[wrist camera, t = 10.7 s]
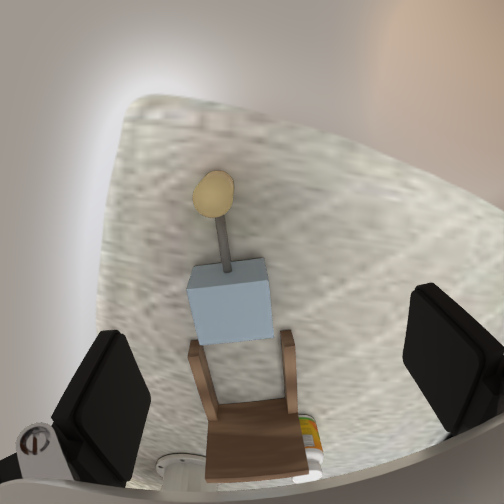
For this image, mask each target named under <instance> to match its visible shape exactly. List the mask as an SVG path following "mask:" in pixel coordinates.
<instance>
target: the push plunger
mask: <svg viewBox="0 0 504 504" xmlns="http://www.w3.org/2000/svg"><path fill="white" fill-rule="evenodd" d="M233 192H234V183H233V180H232V178H231V177H230V176H229V175H228V174H227V173H225V172H223V171H212V172H210V173H208V174H207V175H206V176H205V177H204V178H203V179H202V180H201V182H200V183H199V184H198V185H197V186H196V188H195V190H194V192H193V204H194V206H195V208H196V210H197V211H198V212H199V213H200V214H202V215H204V216H206V217H210V218H215V221H216V227H217V234H218V240H219V247H220V253H221V259H222V263H218V264H210V265H201V266H194V267H193V270H192V273H191V276H190V279H189V283H188V286H187V289H186V290H187V294H188V299H189V303H190V307H191V312H192V316H193V320H194V324H195V328H196V332H197V336H198V340H199V344H200V345H209V344H221V343H231V342H241V341H250V340H258V339H267V338H274V330H273V320H272V310H271V299H270V289H269V280H268V275H267V270H266V265H265V261H264V258H260V259H251V260H243V261H235V262H231V260H230V253H229V246H228V239H227V232H226V225H225V218H224V214H225V213H226V212H227V211H228V210H229V209H230V207H231V205H232V202H233Z"/></svg>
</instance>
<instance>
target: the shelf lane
mask: <svg viewBox="0 0 504 504" xmlns="http://www.w3.org/2000/svg"><path fill="white" fill-rule="evenodd" d="M280 332H281V345H282V357H283V371H284V384H285V398H280V399H273V400H264V401H255V402H245V403H234V404H220V405H218V401H217V398H216V394H215V390H214V387H213V383H212V379H211V376H210V372H209V368H208V365H207V361H206V357H205V353H204V349H203V345H200V344H199V340H192V341H191V343H190V348H189V353H188V360H189V363H190V366H191V370H192V373H193V376H194V379H195V382H196V386H197V389H198V392H199V395H200V398H201V401H202V404H203V407H204V410H205V413H206V416H207V419H208V421H209V422H208V435H207V450H206V465H205V480H206V482H207V483H232V482H249V481H261V480H271V479H280V478H288V477H295V476H302V475H308V474H309V467H308V461H307V456H306V451H305V446H304V441H303V436H302V431H301V426H300V422H299V417H298V406H297V377H296V353H295V343H294V339H293V336H292V332H291V330H286V331H280Z"/></svg>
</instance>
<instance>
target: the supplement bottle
mask: <svg viewBox="0 0 504 504" xmlns="http://www.w3.org/2000/svg"><path fill="white" fill-rule="evenodd" d="M298 417H299V422H300V426H301V431H302V436H303V441H304V446H305V451H306V456H307V461H308V467H309V474H308V475H302V476H295V477H292V480H293V482H295V483H305V482H310V481H316V480H318V479H319V478H321V476H322V469H321V465H320V464H321V463H322V462H323V460H324V454H323V450H322V446H321V441H320V437H319V433H318V429H317V425H316V422H315V420H314V419H313V418H312V417H310V416H308V415H298Z"/></svg>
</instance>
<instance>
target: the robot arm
mask: <svg viewBox="0 0 504 504" xmlns="http://www.w3.org/2000/svg"><path fill="white" fill-rule="evenodd" d="M503 354H504V346H503V345H502V344H501V343H499V342H498V341H497V340H496V339H495V338H494V337H493V336H492V335H491V334H490V333H489V332H488V331H487V330H486V329H485V328H484V327H483V326H482V325H481V324H479V323H478V322H477V321H476V320H475V319H474V318H473V317H472V316H471V315H470V314H469V313H467V312H466V311H465V310H464V309H463V308H462V307H461V306H460V305H458V304H457V303H456V302H455V301H454V300H453V299H452V298H450V297H449V296H448V295H447V294H446V293H445V292H443V291H442V290H441V289H440V288H439V287H438V286H436V285H435V284H434V283H427V284H422V285H418V286H416V288H415V291H413V292H412V293H411V297H410V307H409V315H408V323H407V330H406V337H405V343H404V349H403V362H404V365H405V366H406V368H407V369H408V371H409V372H410V374H411V376H412V377H413V379H414V380H415V382H416V383H417V385H418V386H419V388H420V390H421V391H422V393H423V394H424V396H425V398H426V399H427V401H428V402H429V404H430V406H431V407H432V409H433V410H434V412H435V414H436V415H437V417H438V419H439V420H440V422H441V424H442V425H443V427H444V429H445V430H446V431H447V432H451V433H452V435H453V437H452V438H450V439H448V440H446V441H443V442H441V443H439V444H436V445H434V446H431V447H429V448H426V449H424V450H421V451H419V452H416V453H413V454H411V455H408V456H405V457H402V458H399V459H396V460H393V461H390V462H387V463H384V464H380V465H377V466H374V467H370V468H367V469H363V470H359V471H356V472H352V473H348V474H344V475H339V476H335V477H330V478H326V479H321V480H316V481H310V482H305V483H299V484H293V485H286V486H278V487H270V488H261V489H251V490H237V491H217V486H218V485H220V484H222V483H207V482H206V480H205V465H206V457H202V456H197V455H191V454H172V455H167V456H164V457H162V458H160V459H159V460H158V461H157V464H156V471H157V473H158V474H159V475H160V476H161V477H162V478H163V482H162V488H161V491H156V490H143V489H132V488H125V486H126V482H127V481H130V480H131V478H132V474H133V470H134V465H135V461H136V457H137V453H138V449H139V445H140V441H141V437H142V433H143V429H144V426H145V422H146V418H147V414H148V410H149V407H150V403H151V396H150V392H149V390H148V388H147V386H146V384H145V381H144V379H143V377H142V375H141V372H140V370H139V368H138V366H137V363H136V361H135V359H134V356H133V354H132V351H131V349H130V346H129V344H128V341H127V339H126V337H125V335H124V334H121V333H120V332H119V331H118V330H106V331H101V332H100V333H99V334H98V336H97V338H96V339H95V341H94V342H93V344H92V346H91V347H90V349H89V351H88V352H87V354H86V356H85V357H84V359H83V361H82V363H81V365H80V366H79V367H78V369H77V371H76V373H75V375H74V376H73V378H72V380H71V382H70V383H69V385H68V387H67V389H66V390H65V392H64V394H63V396H62V397H61V399H60V401H59V403H58V405H57V407H56V409H55V410H54V412H53V414H52V416H51V418H52V420H53V421H54V422H53V424H52V426H50V425H48V424H46V423H35V424H31V425H29V426H28V427H26V428H25V429H24V430H23V431H22V432H21V433H20V434H19V436H18V438H17V441H16V451H17V452H16V453H14V454H12V455H10V456H8V457H6V458H4V459H2V460H0V504H504V355H503Z"/></svg>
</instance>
